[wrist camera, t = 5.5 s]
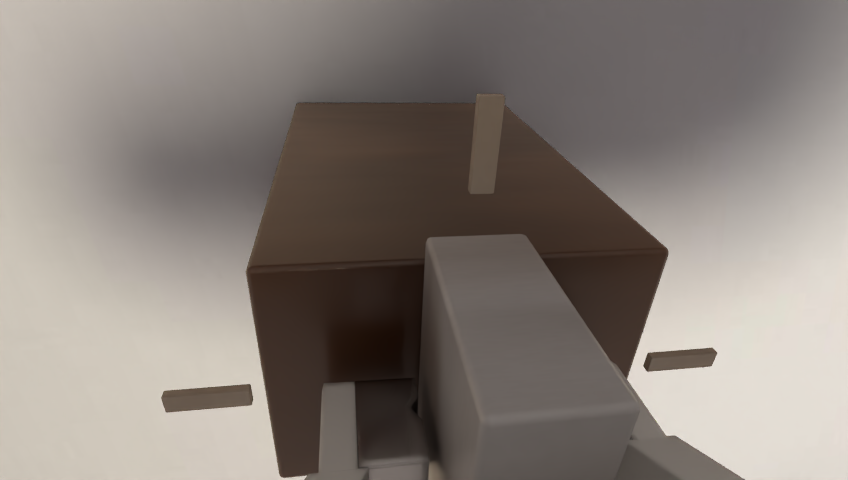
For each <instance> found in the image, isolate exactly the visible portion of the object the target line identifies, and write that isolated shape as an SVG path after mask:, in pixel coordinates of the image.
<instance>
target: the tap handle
mask: <svg viewBox="0 0 848 480" xmlns="http://www.w3.org/2000/svg"><path fill="white" fill-rule="evenodd" d="M639 413H640V408H639V403H638V401H637V399H636V398H635V396H634V395H633V393H632V392H631V390H630V389H629V387H628V386H627V384H626V383H625V382H624V380H623V379H622V377H621V376H620V374H619V373H618V371H617V370H616V368H615V367H614V365H613V364H612V362H611V361H610V359H609V358H608V356H607V355H606V353H605V352H604V350H603V349H602V347H601V346H600V344H599V343H598V342H597V340H596V339H595V337H594V336H593V334H592V333H591V331H590V330H589V328H588V327H587V325H586V324H585V322H584V321H583V319H582V318H581V316H580V315H579V313H578V312H577V310H576V309H575V307H574V306H573V304H572V303H571V301H570V300H569V299H568V297H567V296H566V294H565V293H564V291H563V290H562V288H561V287H560V285H559V284H558V282H557V281H556V279H555V278H554V276H553V275H552V273H551V272H550V270H549V269H548V267H547V266H546V264H545V263H544V261H543V260H542V259H541V257H540V256H539V254H538V253H537V251H536V250H535V248H534V247H533V245H532V244H531V242H530V241H529V239H528V238H527V236H525V235H523V234H505V235H477V236H450V237H430V238H428V239H427V241H426V247H425V266H424V286H423V306H422V326H421V346H420V366H419V386H418V416H419V417H420V418H421V419H422V420H423V424H424V430H425V436H426V441H427V447H428V453H429V477H428V480H615V478H616V475H617V472H618V469H619V467H620V464H621V461H622V459H623V456H624V453H625V450H626V448H627V445H628V442H629V440H630V437H631V434H632V431H633V429H634V426H635V423H636V421H637V418H638V415H639Z"/></svg>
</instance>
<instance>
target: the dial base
mask: <svg viewBox="0 0 848 480" xmlns="http://www.w3.org/2000/svg"><path fill="white" fill-rule="evenodd" d="M504 104H505V96H504V95H503V94H477V95H476V103H297V104H296V107H295V110H294V113H293V117H292V120H291V123H290V127H289V130H288V133H287V136H286V140H285V143H284V146H283V150H282V153H281V156H280V160H279V163H278V166H277V170H276V173H275V176H274V179H273V183H272V186H271V189H270V193H269V196H268V199H267V203H266V206H265V209H264V213H263V216H262V219H261V223H260V226H259V229H258V232H257V236H256V239H255V242H254V246H253V249H252V252H251V256H250V259H249V262H248V266H247V269H246V276H247V282H248V288H249V294H250V300H251V306H252V312H253V318H254V324H255V330H256V336H257V342H258V348H259V355H260V361H261V367H262V373H263V379H264V385H265V391H266V397H267V403H268V409H269V415H270V421H271V427H272V433H273V439H274V445H275V451H276V457H277V463H278V469H279V474H280V476H281V477H283V478H287V477H297V476H306V475H308V474H312V473H319V450H320V426H321V402H322V389H323V385H324V383H338V382H354V383H355V381H364V380H382V379H401V378H415V381H416V386H417V391H418V386H419V366H420V346H421V326H422V306H423V286H424V266H425V247H426V241H427V239H428V238H430V237H450V236H477V235H505V234H523V235H525V236H527V238H528V239H529V241H530V242H531V244H532V245H533V247H534V248H535V250H536V251H537V253H538V254H539V256H540V257H541V259H542V260H543V261H544V263H545V264H546V266H547V267H548V269H549V270H550V272H551V273H552V275H553V276H554V278H555V279H556V281H557V282H558V284H559V285H560V287H561V288H562V290H563V291H564V293H565V294H566V296H567V297H568V299H569V300H570V301H571V303H572V304H573V306H574V307H575V309H576V310H577V312H578V313H579V315H580V316H581V318H582V319H583V321H584V322H585V324H586V325H587V327H588V328H589V330H590V331H591V333H592V334H593V336H594V337H595V339H596V340H597V342H598V343H599V344H600V346H601V347H602V349H603V350H604V352H605V353H606V355H607V356H608V358H609V359H610V361H612V362H613V363H615V364H616V365H617V366H618V367H619V369H620V370H621V372H622V373H623V375H624V376H625V377H626V379H627V378H628V375H629V372H630V368H631V365H632V362H633V359H634V356H635V353H636V350H637V347H638V344H639V341H640V338H641V335H642V332H643V329H644V326H645V323H646V320H647V317H648V314H649V311H650V308H651V305H652V302H653V299H654V296H655V293H656V290H657V287H658V284H659V281H660V278H661V275H662V272H663V269H664V266H665V263H666V260H667V257H668V249H667V248H666V247H665V246H664V245H663V244H661V243H660V242H659V241H658V240H657V239H656V238H655V237H654V236H652V235H651V234H650V233H649V232H648V231H647V230H646V229H644V228H643V227H642V226H641V225H640V224H639V223H638V222H637V221H635V220H634V219H633V218H632V217H631V216H630V215H629V214H627V213H626V212H625V211H624V210H623V209H622V208H621V207H620V206H618V205H617V204H616V203H615V202H614V201H613V200H612V199H610V198H609V197H608V196H607V195H606V194H605V193H604V192H603V191H601V190H600V189H599V188H598V187H597V186H596V185H595V184H593V183H592V182H591V181H590V180H589V179H588V178H587V177H586V176H584V175H583V174H582V173H581V172H580V171H579V170H578V169H576V168H575V167H574V166H573V165H572V164H571V163H570V162H569V161H567V160H566V159H565V158H564V157H563V156H562V155H561V154H559V153H558V152H557V151H556V150H555V149H554V148H553V147H552V146H550V145H549V144H548V143H547V142H546V141H545V140H544V139H542V138H541V137H540V136H539V135H538V134H537V133H536V132H535V131H533V130H532V129H531V128H530V127H529V126H528V125H527V124H525V123H524V122H523V121H522V120H521V119H520V118H519V117H518V116H516V115H515V114H514V113H513V112H512V111H511V110H510V109H509V108H507V107H506V106H505V105H504ZM716 355H717V352H716V351H715V350H714V349H713V348H704V349H691V350H678V351H666V352H653V353H648V354H647V357H646V360H645V363H644V368H645V369H646V371H648V372H649V371H661V370H673V369H685V368H697V367H708V366H712V364H713V362H714V360H715V357H716ZM161 399H162V402H163V405H164V408H165V411H166V412H177V411H189V410H201V409H213V408H224V407H236V406H248V405H252V401H253V396H252V390H251V385H250V384H246V385H233V386H220V387H208V388H195V389H182V390H170V391H164V392H163V395H162V397H161ZM355 403H356V394H355ZM356 425H357V422H356Z"/></svg>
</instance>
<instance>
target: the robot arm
mask: <svg viewBox="0 0 848 480" xmlns="http://www.w3.org/2000/svg"><path fill="white" fill-rule="evenodd" d="M611 362H612V361H611ZM612 364H613V365H614V367H615V368H616V370H617V371H618V373H619V374H620V376H621V377H622V379H623V380H624V382H625V383H626V384H627V386H628V387H629V389H630V390H631V392H632V393H633V395H634V396H635V398H636V399H637V401H638V403H639V408H640V413H639V415H638V418H637V421H636V423H635V426H634V429H633V431H632V434H631V437H630V440H629V442H628V445H627V448H626V450H625V453H624V456H623V459H622V461H621V464H620V467H619V469H618V472H617V475H616V478H615V480H745V479H743V478H741V477H740V476H738V475H737V474H735V473H733V472H732V471H730V470H729V469H727V468H726V467H724V466H722V465H721V464H719V463H718V462H716V461H714V460H713V459H711V458H710V457H708V456H707V455H705V454H703V453H702V452H700V451H699V450H697V449H695V448H694V447H692V446H691V445H689V444H688V443H686V442H684V441H683V440H681V439H680V438H678V437H676V436H666V435H665V433H664V432H663V431H662V429H661V428H660V426H659V425H658V423H657V422H656V421H655V419H654V418H653V416H652V415H651V413H650V412H649V410H648V409H647V408H646V406H645V405H644V403H643V402H642V400H641V399H640V398H639V396H638V395H637V393H636V392H635V390H634V389H633V388H632V386H631V385H630V383H629V382H628V380H627V379H626V377H625V376H624V375H623V373H622V372H621V370H620V369H619V367H618V366H617V365H616V364H615V363H613V362H612ZM355 394H356V403H355ZM356 422H357V425H356ZM428 477H429V453H428V447H427V441H426V436H425V430H424V424H423V420H422V419H421V418H420V417H419V416H418V391H417V386H416V381H415V378H401V379H382V380H364V381H355V383H354V382H338V383H324V385H323V389H322V402H321V426H320V450H319V473H312V474H308V475H307V477H306V478H305V480H428Z"/></svg>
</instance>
